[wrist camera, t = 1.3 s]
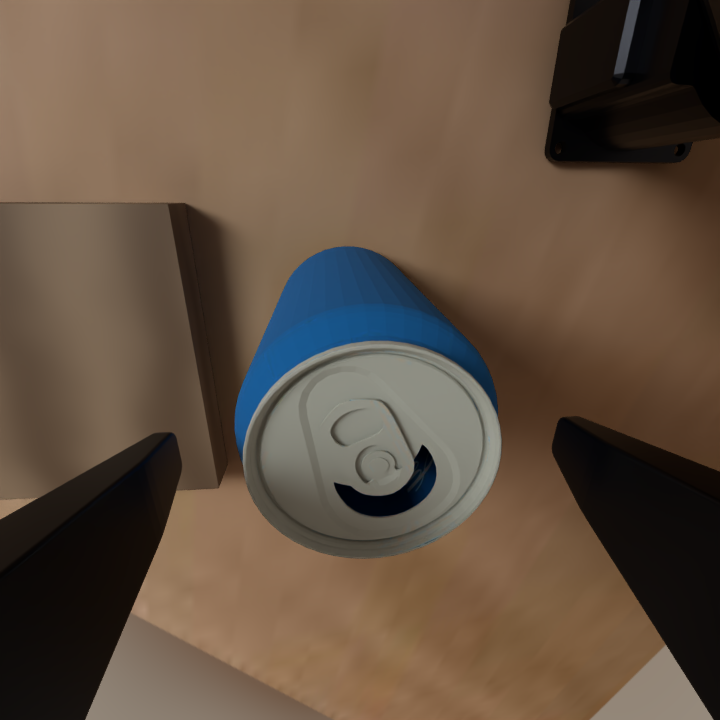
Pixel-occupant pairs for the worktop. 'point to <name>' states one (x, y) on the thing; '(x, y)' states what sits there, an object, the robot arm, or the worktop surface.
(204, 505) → the worktop surface
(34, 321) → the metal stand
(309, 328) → the beverage can
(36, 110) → the worktop surface
